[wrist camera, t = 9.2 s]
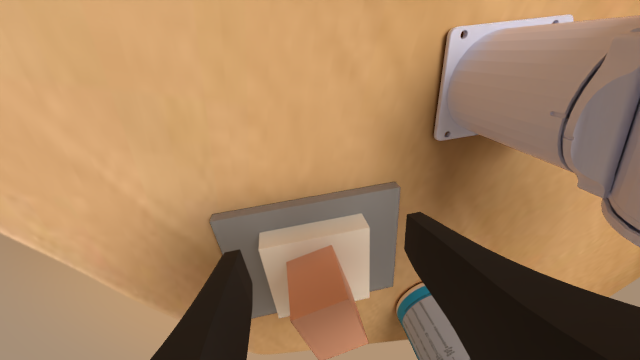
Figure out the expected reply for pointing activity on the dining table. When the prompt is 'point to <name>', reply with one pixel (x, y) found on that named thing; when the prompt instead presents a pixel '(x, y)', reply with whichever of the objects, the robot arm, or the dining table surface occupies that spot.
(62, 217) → the dining table surface
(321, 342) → the brick
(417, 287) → the beverage bottle
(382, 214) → the tower base
